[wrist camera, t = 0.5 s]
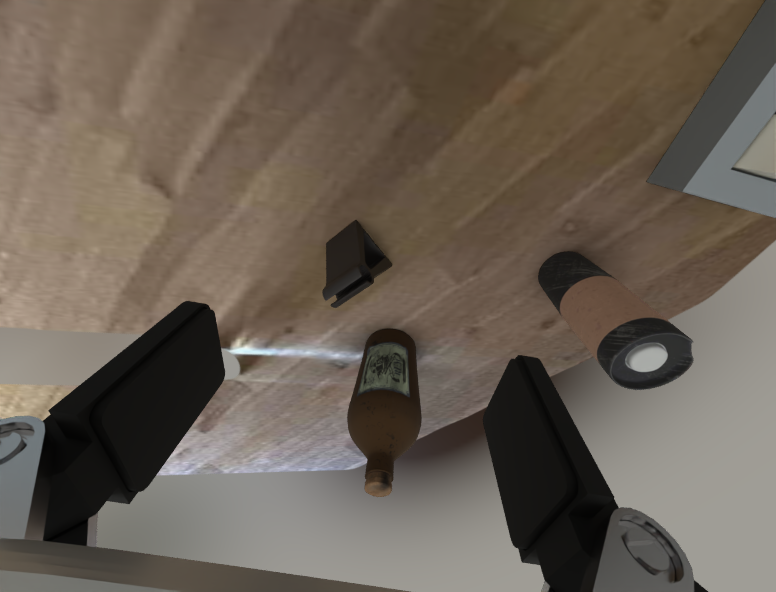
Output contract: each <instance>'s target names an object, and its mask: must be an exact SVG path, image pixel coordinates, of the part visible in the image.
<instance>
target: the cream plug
mask: <svg viewBox="0 0 776 592" xmlns="http://www.w3.org/2000/svg"><path fill="white" fill-rule="evenodd" d="M731 170H734V171H738V172H741V173H745V174H748V175H754V176H760V177H766V178H772V179H776V115H773V116H772V117H771V118H770V119H769V121H768V122H767V123H766V125H765V126H764V127H763V128H762V130H761V131H760V132H759V134H758V135H757V136H756V137H755V139H754V140H753V141H752V143H751V144H750V145H749V146H748V148H747V149H746V150H745V152H744V153H743V154H742V155H741V157H740V158H739V159H738V161H737V162H736V163H735V164H734V166H733V167H732V168H731Z"/></svg>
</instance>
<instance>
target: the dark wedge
mask: <svg viewBox="0 0 776 592" xmlns="http://www.w3.org/2000/svg"><path fill="white" fill-rule="evenodd" d="M390 267H392V264H391V262H390V261H389V260H388V259H387V257H386V256H385V255H384V254H383V252H382V251H381V250H380V249H379V247H378V246H377V245H376V244H375V243H374V241H373V240H372V239H371V238H370V236H369V235H368V234H367V233H366V231H365V230H364V229H363V228H362V227H361V225H360V224H359V223H358V222H357V221H356V220H355V221H354V222H353V223H352V224H350V225H349V226H348V227H346V228H345V229H344V230H343V231H341V232H340V233H339V234H337V235H336V236H335V237H334V238H332V239H331V240H330V241H329V242H327V243H326V286H325V288H324V289H323V297H324V299H325V300H328V299H329V298H331V297H332V296H334V295H336V298H337V301H335V302H334V303H332V304H331V306H332V307H334V308H337V307H338V306H340V305H341V304H343V303H344V302H346V301H347V300H349V299H351V298H352V297H354V296H355V295H357V294H358V293H360V292H361V291H363V290H364V289H366V288H367V287H369V286H370V285H372V284H373V283H374V278H375V277H377V276H378V275H380V274H381V273H383V272H384V271H386V270H387V269H389V268H390Z"/></svg>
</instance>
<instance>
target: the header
mask: <svg viewBox="0 0 776 592" xmlns="http://www.w3.org/2000/svg"><path fill="white" fill-rule="evenodd" d="M773 115H776V0H765V2H764V3H763V5H762V6H761V8H760V9H759V11H758V12H757V14H756V16H755V17H754V19H753V20H752V22H751V23H750V25H749V26H748V28H747V29H746V31H745V32H744V34H743V35H742V37H741V38H740V40H739V41H738V43H737V45H736V46H735V48H734V49H733V51H732V52H731V54H730V55H729V57H728V58H727V60H726V61H725V63H724V64H723V66H722V67H721V69H720V70H719V72H718V73H717V75H716V77H715V78H714V80H713V81H712V83H711V84H710V86H709V87H708V89H707V90H706V92H705V93H704V95H703V96H702V98H701V99H700V101H699V102H698V104H697V106H696V107H695V109H694V110H693V112H692V113H691V115H690V116H689V118H688V119H687V121H686V122H685V124H684V125H683V127H682V128H681V130H680V131H679V133H678V135H677V136H676V138H675V139H674V141H673V142H672V144H671V145H670V147H669V148H668V150H667V151H666V153H665V154H664V156H663V157H662V159H661V160H660V162H659V164H658V165H657V167H656V168H655V170H654V171H653V173H652V174H651V176H650V177H649V179H648V180H647V182H648V183H652V184H655V185H659V186H662V187H666V188H669V189H673V190H676V191H680V192H684V193H687V194H691V195H694V196H698V197H701V198H705V199H708V200H712V201H715V202H719V203H723V204H726V205H730V206H733V207H737V208H741V209H745V210H748V211H752V212H756V213H759V214H763V215H767V216H770V217H774V218H776V179H772V178H766V177H760V176H754V175H748V174H745V173H741V172H738V171H734V170H731V168H732V167H733V166H734V164H735V163H736V162H737V161H738V159H739V158H740V157H741V155H742V154H743V153H744V152H745V150H746V149H747V148H748V146H749V145H750V144H751V143H752V141H753V140H754V139H755V137H756V136H757V135H758V134H759V132H760V131H761V130H762V128H763V127H764V126H765V125H766V123H767V122H768V121H769V119H770V118H771V117H772V116H773Z"/></svg>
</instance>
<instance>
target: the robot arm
mask: <svg viewBox="0 0 776 592" xmlns="http://www.w3.org/2000/svg"><path fill="white" fill-rule="evenodd" d="M224 377H225V369H224V363H223V357H222V352H221V346H220V340H219V335H218V329H217V323H216V317H215V313H214V311H213V310H211V309H210V307H209V306H208V305H207V304H203V303H197V302H191V301H185V302H183V303H182V304H181V305H179V306H178V307H177V308H176V309H174V310H173V311H172V312H171V313H169V314H168V315H167V316H166V317H164V318H163V319H162V320H161V321H159V322H158V323H157V324H156V325H154V326H153V327H152V328H151V329H149V330H148V331H147V332H146V333H144V334H143V335H142V336H141V337H139V338H138V339H137V340H136V341H134V342H133V343H132V344H131V345H129V346H128V347H127V348H126V349H124V350H123V351H122V352H121V353H119V354H118V355H117V356H116V357H114V358H113V359H112V360H111V361H110V362H108V363H107V364H106V365H105V366H103V367H102V368H101V369H100V370H98V371H97V372H96V373H94V374H93V375H92V376H91V377H90V378H88V379H87V380H86V381H85V382H83V383H82V384H81V385H79V386H78V387H77V388H76V389H75V390H73V391H72V392H71V393H70V394H68V395H67V396H66V397H65V398H63V399H62V400H61V401H60V402H58V403H57V404H56V405H55V406H53V407H52V408H51V409H50V410H48V411H49V412H50V414H51V415H50V416H48V417H47V418H46V419H45V420H43V421H41V420H40V419H39V418H36V417H32V416H15V417H10V418H6V419H1V420H0V592H409V591H402V590H395V589H388V588H382V587H376V586H369V585H361V584H355V583H347V582H341V581H334V580H327V579H320V578H313V577H307V576H300V575H293V574H286V573H279V572H272V571H265V570H258V569H251V568H244V567H237V566H229V565H223V564H216V563H209V562H201V561H194V560H187V559H180V558H173V557H165V556H158V555H151V554H144V553H137V552H130V551H123V550H115V549H107V548H98V547H96V543H97V518H98V511H99V510H100V509H101V507H102V506H103V505H104V504H105V502H106V501H112V502H118V503H126V504H130V502H131V501H132V500H133V498H134V497H135V495H136V494H137V493H138V492H141V491H143V490H144V489H145V488H147V487H148V486H149V484H150V483H151V482H152V480H153V479H154V477H155V476H156V475H157V473H158V472H159V470H160V469H161V468H162V466H163V465H164V464H165V462H166V461H167V459H168V458H169V457H170V455H171V454H172V452H173V451H174V450H175V448H176V447H177V445H178V444H179V443H180V441H181V440H182V438H183V437H184V436H185V434H186V433H187V431H188V430H189V429H190V427H191V426H192V424H193V423H194V422H195V420H196V419H197V417H198V416H199V415H200V413H201V412H202V410H203V409H204V408H205V406H206V405H207V404H208V402H209V401H210V399H211V398H212V397H213V395H214V394H215V392H216V391H217V390H218V388H219V387H220V385H221V384H222V382H223V380H224ZM483 424H484V429H485V433H486V437H487V442H488V446H489V450H490V454H491V458H492V462H493V467H494V471H495V475H496V479H497V483H498V487H499V492H500V496H501V500H502V504H503V508H504V513H505V517H506V521H507V525H508V529H509V533H510V538H511V541H512V543H513V545H514V546H515V547H516V548H518V549H519V553H520V557H521V561H522V562H523V563H530V564H537V565H540V566H541V569H542V573H543V576H544V579H545V582H544V585H543V588H542V590H541V592H708V591H707V590H705V589H704V588H703V587H701V585H699V584H698V583H697V582H696V581H694V578H693V572H692V567H691V565H690V563H689V561H688V559H687V557H686V555H685V553H684V552H683V550H682V549H681V547H680V546H679V544H678V543H677V542H676V541H675V539H674V538H673V537H672V536H671V535H670V534H669V533H668V532H667V531H666V530H665V529H664V528H663V527H662V526H661V525H659V524H658V523H657V522H656V521H655V520H654V519H652V518H650V517H649V516H647V515H645V514H644V513H642V512H640V511H637V510H634V509H632V508H624V507H621V508H618V506H617V504H616V502H615V500H614V496H613V494H612V493H611V490H610V488H609V487H608V485H607V483H606V481H605V479H604V477H603V476H602V474H601V472H600V470H599V468H598V466H597V464H596V462H595V461H594V459H593V457H592V455H591V453H590V451H589V450H588V448H587V446H586V444H585V442H584V440H583V438H582V437H581V435H580V433H579V431H578V429H577V427H576V425H575V424H574V422H573V420H572V418H571V416H570V414H569V413H568V411H567V409H566V407H565V405H564V403H563V401H562V399H561V398H560V396H559V394H558V392H557V390H556V388H555V387H554V385H553V383H552V381H551V379H550V377H549V375H548V374H547V372H546V370H545V368H544V366H543V364H542V362H541V361H540V360H539V359H538V358H534V357H528V356H522V355H518V356H517V357H516V358H515V359H511V360H510V361H509V363H508V365H507V367H506V370H505V372H504V374H503V376H502V378H501V380H500V382H499V384H498V386H497V388H496V390H495V392H494V394H493V396H492V398H491V400H490V402H489V404H488V407H487V409H486V411H485V413H484V417H483Z"/></svg>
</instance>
